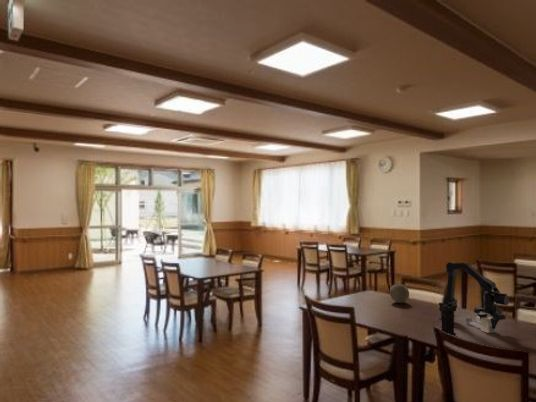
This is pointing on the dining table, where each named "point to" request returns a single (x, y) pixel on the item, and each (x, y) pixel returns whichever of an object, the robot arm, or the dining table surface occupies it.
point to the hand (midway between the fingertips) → (489, 327)
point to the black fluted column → (448, 318)
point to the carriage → (486, 324)
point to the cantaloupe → (399, 293)
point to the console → (478, 320)
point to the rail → (478, 325)
